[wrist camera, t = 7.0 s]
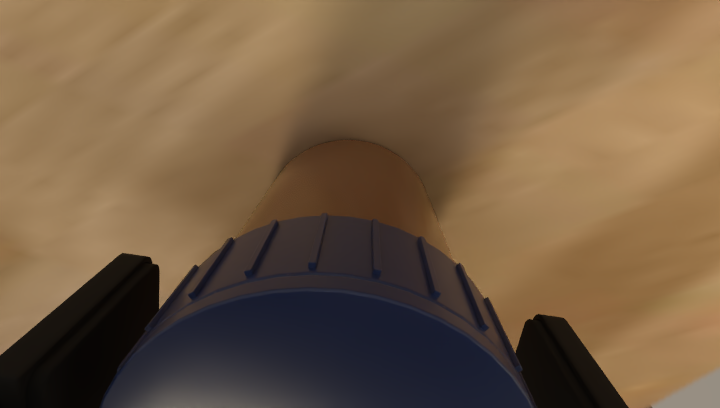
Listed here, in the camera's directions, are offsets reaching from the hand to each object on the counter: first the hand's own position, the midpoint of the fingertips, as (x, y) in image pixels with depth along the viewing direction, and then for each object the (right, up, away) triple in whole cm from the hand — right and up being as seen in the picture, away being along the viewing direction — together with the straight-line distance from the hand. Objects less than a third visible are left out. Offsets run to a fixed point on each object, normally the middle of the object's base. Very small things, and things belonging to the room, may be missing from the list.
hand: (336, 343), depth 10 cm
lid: (0, -1, -3) cm, 3 cm away
